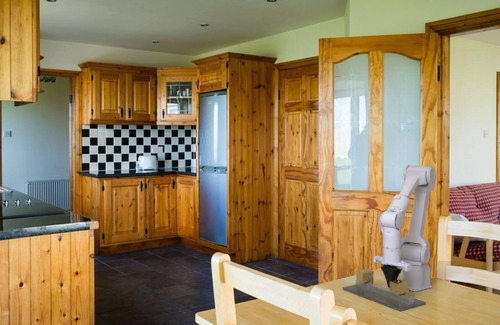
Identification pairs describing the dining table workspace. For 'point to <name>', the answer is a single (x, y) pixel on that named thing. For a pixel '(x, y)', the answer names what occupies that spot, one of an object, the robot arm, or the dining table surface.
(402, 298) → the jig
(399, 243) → the robot arm
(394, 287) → the tan holed block
